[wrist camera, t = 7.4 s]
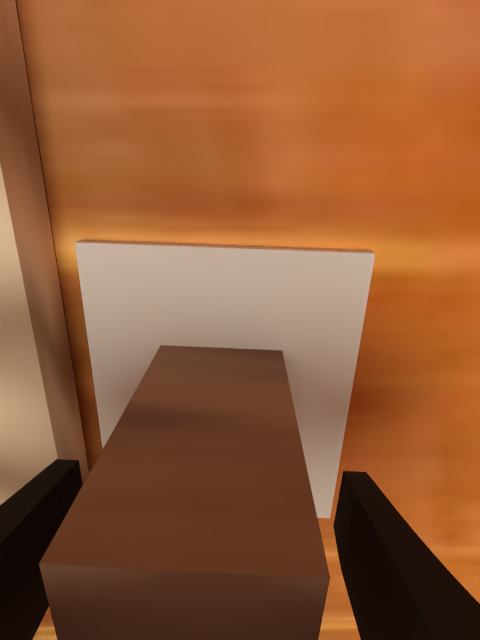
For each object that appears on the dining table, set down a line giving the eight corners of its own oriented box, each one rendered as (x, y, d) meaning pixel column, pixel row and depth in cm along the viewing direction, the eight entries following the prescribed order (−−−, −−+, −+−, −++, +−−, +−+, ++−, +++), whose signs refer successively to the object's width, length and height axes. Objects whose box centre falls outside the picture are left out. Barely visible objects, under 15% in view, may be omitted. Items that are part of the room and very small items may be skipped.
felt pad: (327, 508, 16) (330, 518, 16) (114, 499, 16) (110, 508, 16) (370, 250, 12) (375, 253, 11) (81, 240, 12) (74, 242, 12)
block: (273, 448, 14) (300, 727, 7) (165, 443, 14) (76, 717, 7) (281, 350, 13) (330, 578, 5) (160, 345, 13) (38, 563, 5)
